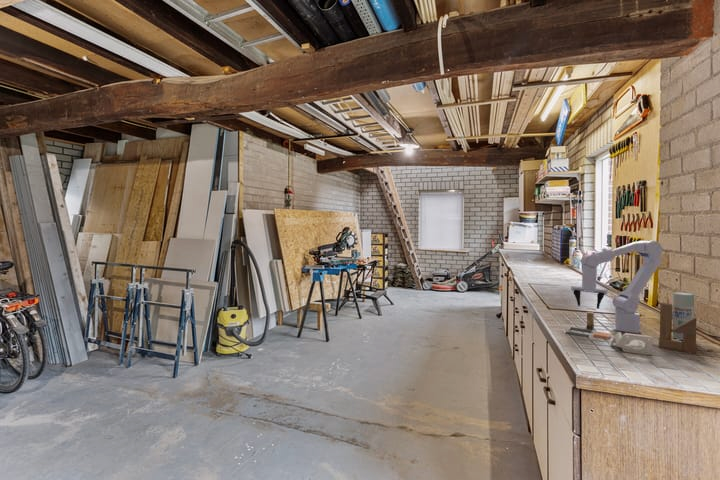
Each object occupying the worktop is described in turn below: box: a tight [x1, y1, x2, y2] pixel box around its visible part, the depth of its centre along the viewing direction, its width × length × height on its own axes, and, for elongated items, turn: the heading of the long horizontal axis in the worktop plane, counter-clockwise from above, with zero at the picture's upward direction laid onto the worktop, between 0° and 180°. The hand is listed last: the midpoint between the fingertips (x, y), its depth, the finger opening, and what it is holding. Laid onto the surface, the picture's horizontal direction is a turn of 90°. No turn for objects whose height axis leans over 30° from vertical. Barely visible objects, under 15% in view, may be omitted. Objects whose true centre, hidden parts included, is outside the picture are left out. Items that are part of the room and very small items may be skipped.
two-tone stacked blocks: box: [585, 311, 595, 331], centre depth 164 cm, size 2×7×8 cm, turn 140°
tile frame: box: [565, 325, 592, 338], centre depth 158 cm, size 9×11×1 cm
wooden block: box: [658, 302, 698, 354], centre depth 135 cm, size 4×11×18 cm, turn 47°
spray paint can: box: [672, 291, 695, 341], centre depth 147 cm, size 6×6×20 cm
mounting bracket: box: [610, 331, 654, 356], centre depth 134 cm, size 12×6×11 cm, turn 59°
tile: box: [593, 330, 612, 340], centre depth 152 cm, size 6×6×2 cm
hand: (588, 307), depth 164 cm, fingers open, 7 cm apart
